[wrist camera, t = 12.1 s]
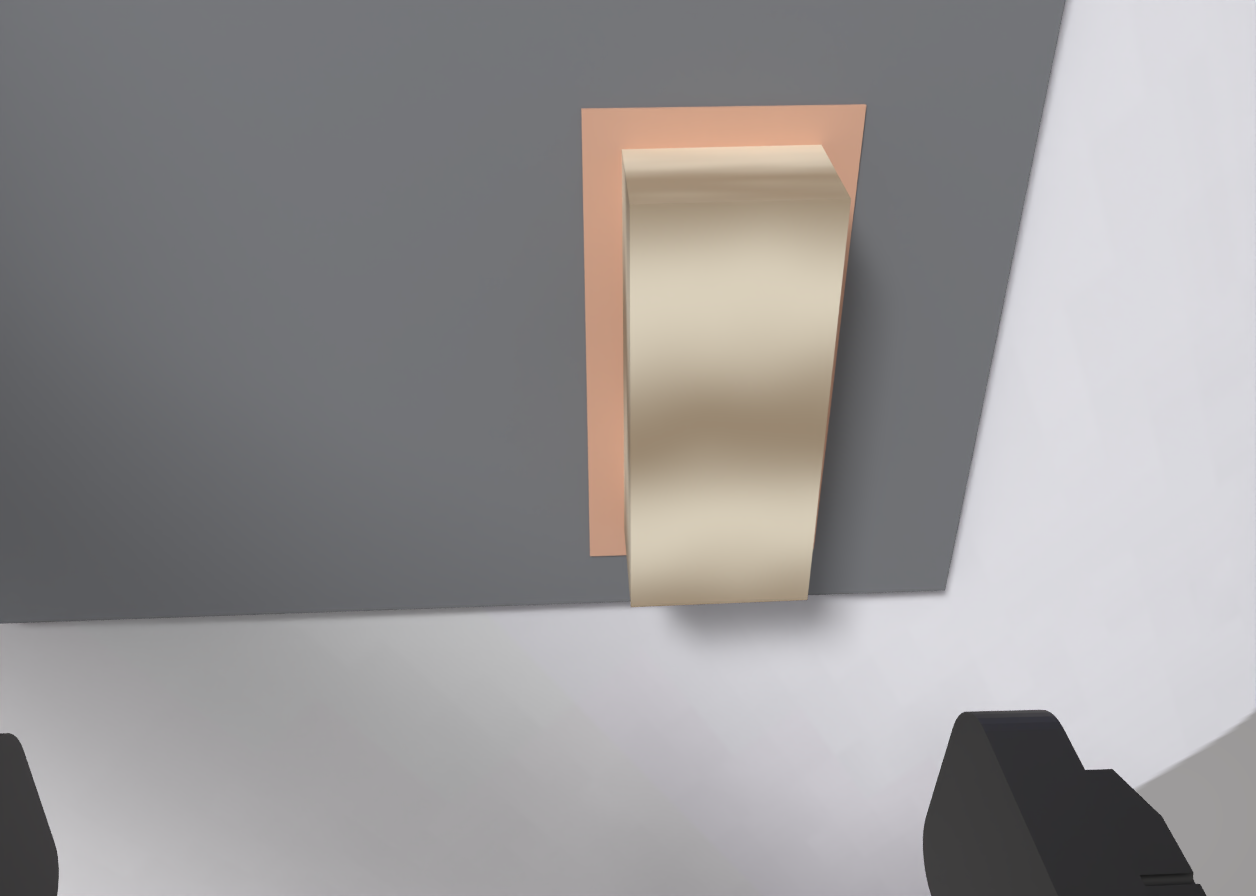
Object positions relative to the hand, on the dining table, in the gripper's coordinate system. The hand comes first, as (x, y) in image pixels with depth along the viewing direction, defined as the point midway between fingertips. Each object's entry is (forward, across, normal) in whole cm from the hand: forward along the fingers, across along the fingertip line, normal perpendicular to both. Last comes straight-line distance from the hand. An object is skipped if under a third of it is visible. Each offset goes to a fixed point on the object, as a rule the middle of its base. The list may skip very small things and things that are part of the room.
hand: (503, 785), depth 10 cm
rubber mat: (+22, +1, +6) cm, 23 cm away
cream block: (+21, -6, +8) cm, 23 cm away
